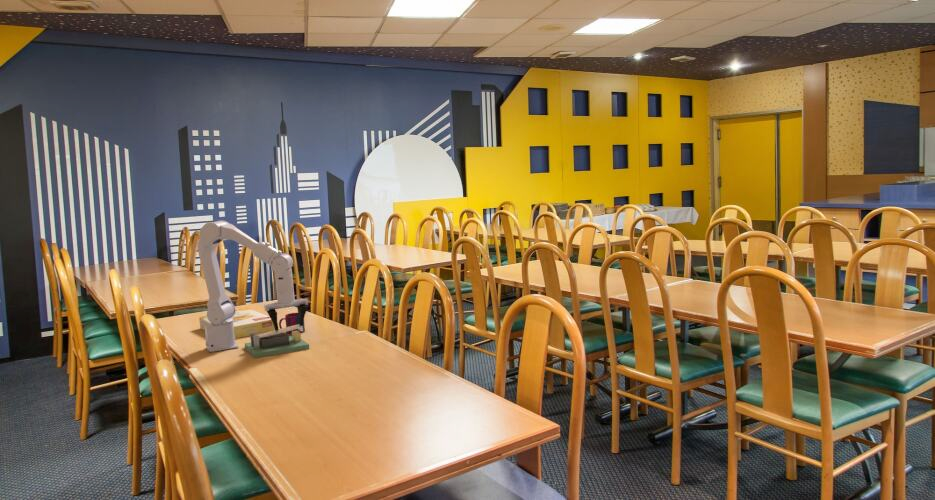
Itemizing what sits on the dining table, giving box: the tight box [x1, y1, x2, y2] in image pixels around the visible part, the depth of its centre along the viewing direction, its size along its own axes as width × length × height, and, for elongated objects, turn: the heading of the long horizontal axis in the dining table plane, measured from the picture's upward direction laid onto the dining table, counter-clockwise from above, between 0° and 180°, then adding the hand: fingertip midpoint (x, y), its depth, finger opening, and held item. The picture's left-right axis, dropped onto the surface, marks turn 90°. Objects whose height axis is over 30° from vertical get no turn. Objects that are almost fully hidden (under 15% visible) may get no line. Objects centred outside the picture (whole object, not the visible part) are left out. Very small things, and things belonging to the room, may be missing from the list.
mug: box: [278, 312, 306, 335], centre depth 244 cm, size 7×10×7 cm
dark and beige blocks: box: [249, 331, 302, 350], centre depth 223 cm, size 16×8×4 cm, turn 119°
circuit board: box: [244, 335, 310, 359], centre depth 223 cm, size 18×16×2 cm
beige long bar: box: [254, 324, 303, 339], centre depth 223 cm, size 16×4×2 cm, turn 119°
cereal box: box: [198, 307, 275, 339], centre depth 254 cm, size 20×6×28 cm
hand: (288, 328), depth 225 cm, fingers open, 7 cm apart
